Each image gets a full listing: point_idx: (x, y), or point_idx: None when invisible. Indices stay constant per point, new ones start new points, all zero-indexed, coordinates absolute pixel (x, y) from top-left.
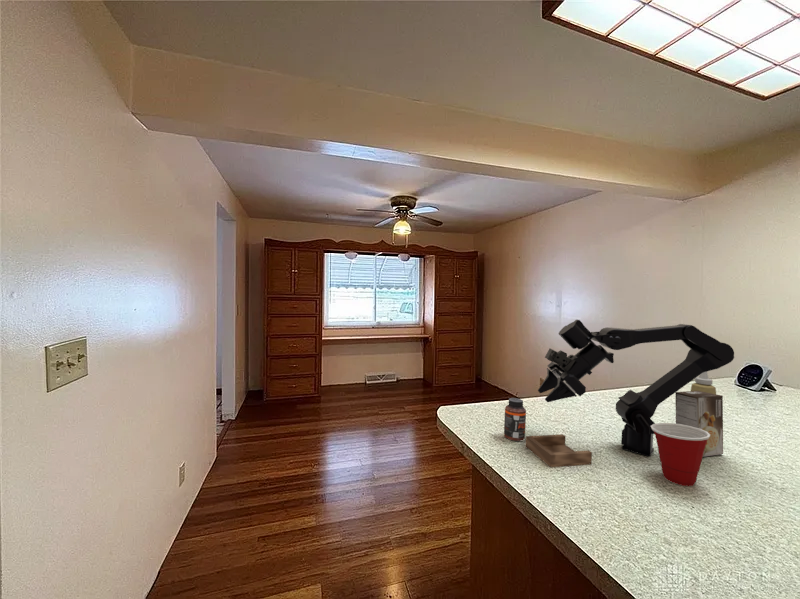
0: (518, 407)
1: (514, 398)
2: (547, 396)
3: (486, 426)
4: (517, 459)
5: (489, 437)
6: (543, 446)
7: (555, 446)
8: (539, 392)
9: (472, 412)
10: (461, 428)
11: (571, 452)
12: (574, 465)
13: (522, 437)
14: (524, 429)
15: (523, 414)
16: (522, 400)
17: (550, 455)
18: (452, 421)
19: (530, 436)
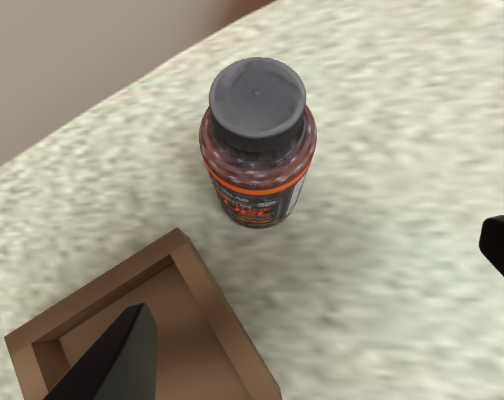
0: (217, 136)
1: (286, 83)
2: (108, 334)
3: (318, 97)
4: (75, 220)
5: None
6: (87, 303)
7: (219, 355)
8: (481, 239)
9: (433, 35)
10: (255, 40)
11: None
12: None
13: (233, 218)
14: (242, 215)
15: (222, 182)
16: (266, 133)
17: (11, 334)
18: (301, 8)
19: (181, 245)
